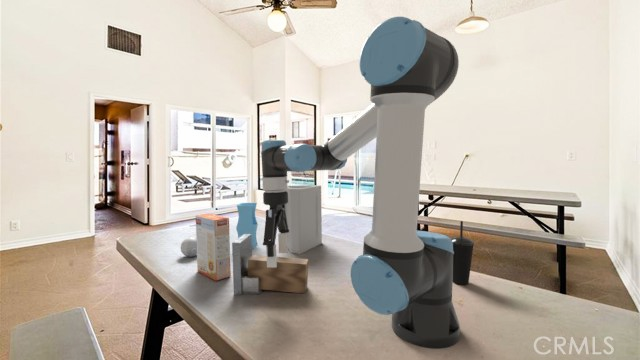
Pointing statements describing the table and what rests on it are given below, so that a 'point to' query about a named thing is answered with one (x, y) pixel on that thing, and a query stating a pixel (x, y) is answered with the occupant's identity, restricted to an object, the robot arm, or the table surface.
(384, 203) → the robot arm
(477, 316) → the table surface
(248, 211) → the vase
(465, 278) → the drinking cup
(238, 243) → the bracket
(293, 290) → the rail
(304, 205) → the white triangular prism
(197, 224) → the cracker box
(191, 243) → the bath bomb
